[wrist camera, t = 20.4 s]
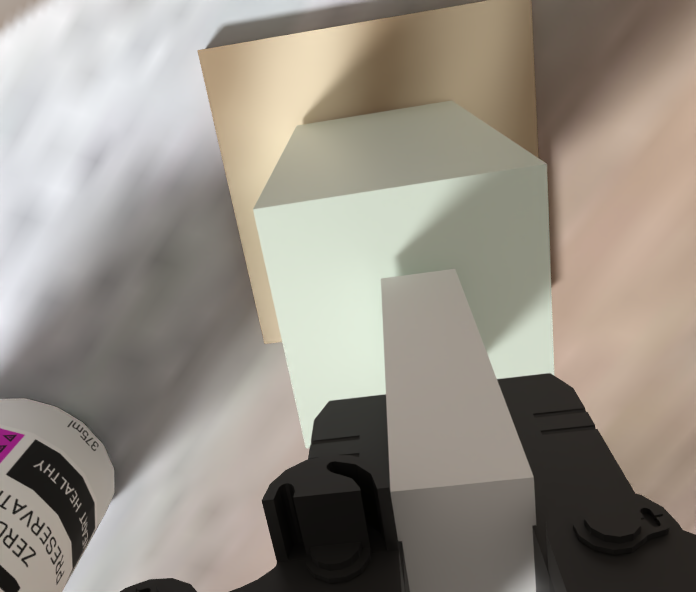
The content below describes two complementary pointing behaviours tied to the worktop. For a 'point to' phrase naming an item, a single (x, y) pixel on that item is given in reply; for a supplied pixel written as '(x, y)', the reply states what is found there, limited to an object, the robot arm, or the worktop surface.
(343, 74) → the post base
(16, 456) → the supplement can
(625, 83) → the worktop surface
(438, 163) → the tall mint green block
